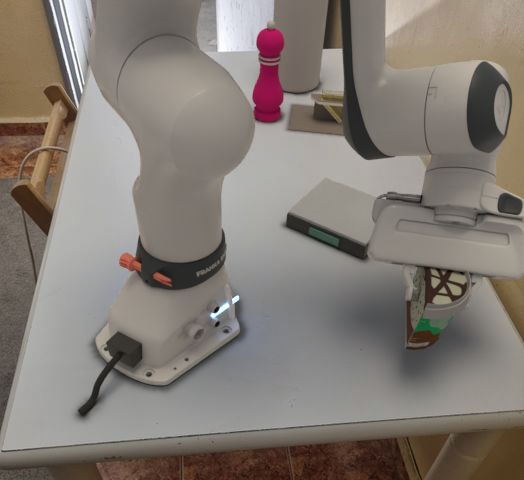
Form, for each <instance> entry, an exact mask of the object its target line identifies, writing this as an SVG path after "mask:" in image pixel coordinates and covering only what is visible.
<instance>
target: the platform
mask: <svg viewBox="0 0 524 480" xmlns="http://www.w3.org/2000/svg"><path fill="white" fill-rule="evenodd" d="M343 93H344V90H343V91H342V90H334V91H333V90H331V89H322V90H321V93H311V94H310V100H312V101H313V102H314V104H313V105H314V106H304V105H293V107H292V112H291V118H290V123H289V128H288V130H290V131H299V132H300V131H301V132H312V133H320V134H331V135H341V136H344V133H343V125H342V112H343Z"/></svg>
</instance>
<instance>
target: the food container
mask: <svg viewBox="0 0 524 480" xmlns="http://www.w3.org/2000/svg"><path fill="white" fill-rule="evenodd" d="M412 282H413V284H414V288H420V294H419V295H418V296H419V299H418V302H414V301H407V300H405V329H404V330H405V331H404V332H405V334H404V336H405V337H404V343H405V344H404V350H408V351H419V350H426V349H427V348H430V347H432V346H434V344H436V342H437V341H439V340H440V337H441V336H442V334H444V332H445V330H446V328H447V327H448V325H449V323H450V322H451V321H452V319H453V318H454V316H456V315H457V314H459V313H461V312H462V311H463V310H465V309H464V308H465V306H466V305H467V303H468V301H469V297H470V298H471V296H470V292H471V279H470V274H469V272H468V270H467V272H459V271H452V270H445V269H438V268H432V267H425V266H422V268H417V267H416V270H415V273H414V277H413V279H412ZM469 302H470V301H469Z"/></svg>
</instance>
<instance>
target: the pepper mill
mask: <svg viewBox="0 0 524 480" xmlns="http://www.w3.org/2000/svg"><path fill="white" fill-rule="evenodd" d="M255 45H256V48H257V50H258V54H257V56H258V58H257V61H258V63H259V73H258V77H257V80H256V82H255V84H254V87H253V89H252V94H251V95H252V97H251V98H252V99H251V100H252V102H253V103H254V105H255V106H254V108H253V112H254V117H255V120H258V121H260V122H264V123H271V122H276V121H278V120H279V119H280V118H281V113H282V112H281V111H282V109H281V107H280V106H281V105H282V104H283V102H284V99H285V97H284V96H285V95H284V91H283V89H282V86H281V83H280V80H279V75H278V67H279V63H280V62H281V54H280V52H281V51H282V50H283V48H284V37H283V34H282V33H281V32H280V31H279V30H278V29H275V22H274V21H273V19H270V20H269V21H267V23H266V28H263V29H261V30H260V31H259V32H258V34H257V36H256V41H255Z"/></svg>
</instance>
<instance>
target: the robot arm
mask: <svg viewBox="0 0 524 480" xmlns="http://www.w3.org/2000/svg"><path fill="white" fill-rule="evenodd" d="M386 1H387V0H339V16H340V18H339V19H340V31H341V32H340V34H341V52H342V53H341V55H342V69H343V70H342V71H343V93H342V96H343V112H342V125H343V133H344V135H343V136H344V139H345V140H346V142H347V144H348V145H349V146H350V147H351V149H352V150H353V151H355V153H356V154H357V155H359V156H360V157H361V158H362V159H364V160H366V161H374V160H383V159H391V158H396V157H421V156H422V157H427V156H429V157H430V159H429V162H428V164H427V166H426V169H425V172H424V176H423V182H422V186H421V187H422V188H421V193H420V194H413V193H401V192H397V191H391V190H390V191H387V192H386V193H383V194H380V195H379V196H376V197H377V198H376V200H375V201H374V204H373V209H372V219H373V222H374V223H375V225H374V228H373V231H372V234H371V237H370V241H369V245H368V250H367V255H366V256H367V257H368V258H369V260H370V261H371V262H378V263H383V264H390V265H397V266H401V270H400V272H401V273H400V275H401V277H402V281H403V283H404V286H405V287H406V291H405V296H404V301H406V300H407V301H414V302H418V299H419V296H418V295H419V294H420V288H414V284H413V278H412V276H411V275H415V274H416V269H417V268H422V266H425V267H432V268H438V269H445V270H452V271H459V272H467V270H468V272H469V274H470V279H471V292H470V297H469V301H468V303H467V305H466V306H465V308H464V309H463V310H468V309H469V306H470V301H471V300H470V299H471V297H473V295H474V293H475V292H476V291H478V289H479V288H480V287H481V286H482V284H483V280H484V278H486V279H487V278H488V279H493V280H500V281H508V282H510V281H518V280H520V279H521V278H523V276H524V198H523V197H521V196H519V195H517V194H514V193H512V192H511V191H508V190H506V189H505V188H502V187H500V186H499V185H498V184H496V181H497V158H498V155H499V153H500V152H501V149H502V147H503V144H504V140H505V139H506V138H507V135H508V129H509V124H510V119H511V115H512V107H513V92H512V91H513V90H512V88H511V85H510V79H509V74H508V73H507V71H506V69H505V68H504V67H503V66H501V64H498V63H496V62H495V61H491V60H488V59H487V60H486V59H471V60H466V61H457V62H447V63H440V64H438V65H429V66H428V65H427V66H420V67H412V68H411V67H410V68H402V69H400V68H399V69H397V68H395V67H392V66H390V65H389V64H388V62H387V61H386V22H387V21H386V20H387V19H386V17H387V16H386V15H387V13H386V11H387V9H386V7H387V2H386ZM202 4H203V0H96V10H95V11H96V14H95V27H94V28H93V30H92V32H91V35H90V38H89V42H88V49H87V55H88V56H87V57H88V62H89V63H88V64H89V66H90V70H91V74H92V75H93V78H94V80H95V83H96V85H97V87H98V90H99V92H100V94H101V95H102V97H103V99H104V100H105V101H106V103H107V104H108V105H109V106H110V107H111V108H112V110H113V111H114V112H115V113H116V114H117V115H118V116H119V117H120V118H121V120H122V121H123V122H124V123H125V125H126V126H127V127H128V128H129V130H130V132H131V134H132V136H133V138H134V140H135V143H136V146H137V149H138V154H139V158H140V159H139V161H140V165H139V174H138V176H137V177H136V178H135V180H134V181H133V185H132V191H131V194H132V195H131V196H132V200H133V206H134V212H135V217H136V222H137V228H138V233H139V234H138V239H137V243H136V250H135V256H133V255H132V254H131V253H128V252H124V253H122V254H121V255H120V257H119V260H118V264H119V266H120V267H122V268H124V269H127V270H128V272H129V271H130V274H129V275H128V277H127V279H126V280H125V281H124V284H123V286H122V288H121V289H120V291H119V292H118V294H117V296H116V297H115V299H114V301H113V302H112V304H111V306H110V307H109V310H108V313H107V314H108V315H107V323H106V324H105V326H104V327H103V328H102V329H101V330H100V332H99V333H98V334H97V335H96V336H95V340H94V341H95V345H96V349H97V351H98V353H99V355H100V356H101V358H102V359H104V361H105V362H107V364H106V365H105V366H104V367H103V369H102V370H101V372H100V373H99V375H98V376H97V378H96V380H95V381H94V384H93V387H92V391H91V394H90V396H89V398H88V400H87V401H86V402H85V403H84V404H83V405H81V407H79V408H78V409H77V412H78V413H80V415H82V416H84V414H85V413H86V412H88V411H89V410H90V409H91V408H92V407H93V406H94V405H95V404H96V402H97V400H98V398H99V394H100V390H101V387H102V385H103V383H104V381H106V378H107V377H108V375H109V374H110V373H111V371H112V370H113V369H115V370H117V371H118V372H120V373H122V374H124V375H125V376H127V377H129V378H131V379H133V380H135V381H137V382H140V383H143V384H146V385H152V386H167V385H169V384H171V383H172V382H174V381H175V380H177V379H178V378H179V377H181V376H182V375H184V374H185V373H187V372H188V371H189V370H191V369H192V368H194V367H195V366H196V365H198V364H199V363H200V362H202V361H204V360H205V359H206V358H208V357H209V356H210V355H212V354H213V353H215V352H216V351H218V350H219V349H221V348H222V347H223V346H225V345H226V344H227V343H229V342H231V340H233V339H234V338H236V337H238V335H239V334H240V332H241V327H240V322H239V320H238V319H237V317H236V304H235V303H236V302H238V301H239V300H240V296H239V295H236V296H233V294H232V288H231V283H230V280H229V276H228V272H227V269H226V264H225V263H226V260H227V242H226V234H225V230H224V228H223V217H222V213H223V212H222V210H223V209H222V206H223V205H222V193H223V184H224V180H225V178H226V177H225V176H228V175H229V174H230V173H232V172H233V171H234V170H235V169H236V168H237V167H238V166H240V164H241V163H242V162H243V161H244V160H245V158H246V156H247V155H248V153H249V151H250V149H251V147H252V144H253V141H254V137H255V132H256V118H255V116H254V108H253V107H252V104H251V103H250V101H249V100H248V97H247V96H246V95H245V93H244V92H243V90H242V89H241V87H240V86H239V84H238V83H237V81H236V80H235V79H234V77H233V75H232V74H231V73H230V72H229V71H228V70H227V69H226V68H225V67H224V66H223V65H222V64H221V63H219V62H218V61H216V60H215V59H214V58H213V57H211V56H210V55H209V54H207V53H206V52H205V51H203V50H202V49H201V47H200V45H199V41H198V34H197V33H198V32H197V31H198V29H197V28H198V21H199V16H200V11H201V7H202Z"/></svg>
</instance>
